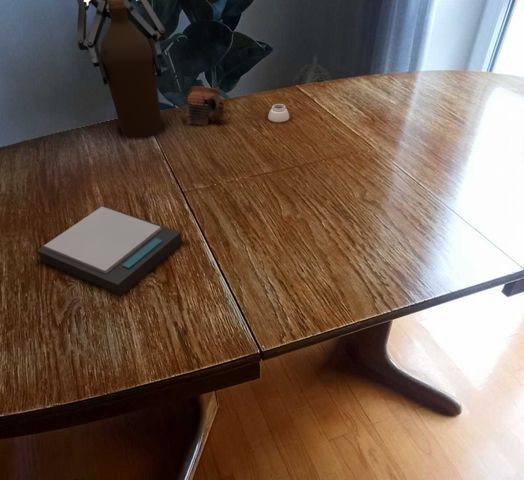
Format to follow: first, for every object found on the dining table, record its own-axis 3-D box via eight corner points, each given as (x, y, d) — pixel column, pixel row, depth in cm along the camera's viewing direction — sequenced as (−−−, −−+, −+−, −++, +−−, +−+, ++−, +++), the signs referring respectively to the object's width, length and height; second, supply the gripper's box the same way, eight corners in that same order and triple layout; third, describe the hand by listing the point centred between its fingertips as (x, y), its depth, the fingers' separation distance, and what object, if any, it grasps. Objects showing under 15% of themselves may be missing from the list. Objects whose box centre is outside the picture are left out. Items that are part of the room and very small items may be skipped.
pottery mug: (175, 124, 110) (176, 85, 108) (205, 131, 117) (207, 95, 115) (208, 123, 103) (210, 81, 100) (238, 130, 110) (241, 92, 107)
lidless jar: (283, 113, 112) (264, 117, 111) (284, 100, 110) (264, 104, 109) (292, 121, 109) (273, 125, 108) (293, 108, 107) (273, 112, 105)
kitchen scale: (42, 263, 74) (35, 247, 72) (107, 218, 83) (102, 202, 81) (122, 297, 68) (116, 281, 66) (183, 245, 77) (180, 229, 75)
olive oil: (156, 142, 103) (130, 5, 84) (111, 139, 104) (77, 3, 86) (171, 122, 110) (150, -8, 91) (129, 119, 111) (100, -10, 93)
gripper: (39, -42, 89) (72, 74, 90) (158, -52, 93) (187, 58, 95) (48, -13, 96) (79, 94, 98) (158, -24, 101) (185, 79, 102)
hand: (132, 77), depth 96 cm, fingers closed on olive oil, 11 cm apart
